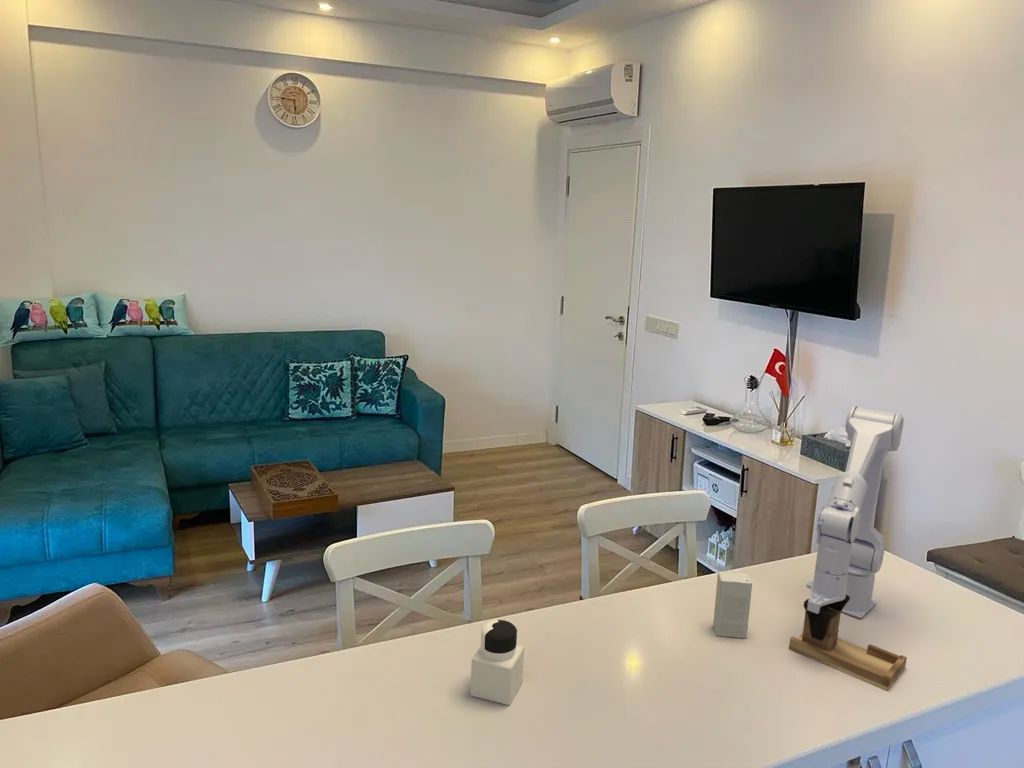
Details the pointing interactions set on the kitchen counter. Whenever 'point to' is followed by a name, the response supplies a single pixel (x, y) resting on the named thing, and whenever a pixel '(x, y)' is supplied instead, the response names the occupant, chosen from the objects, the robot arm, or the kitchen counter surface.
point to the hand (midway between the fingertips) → (822, 633)
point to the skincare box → (732, 604)
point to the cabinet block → (829, 638)
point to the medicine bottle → (497, 663)
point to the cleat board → (856, 660)
